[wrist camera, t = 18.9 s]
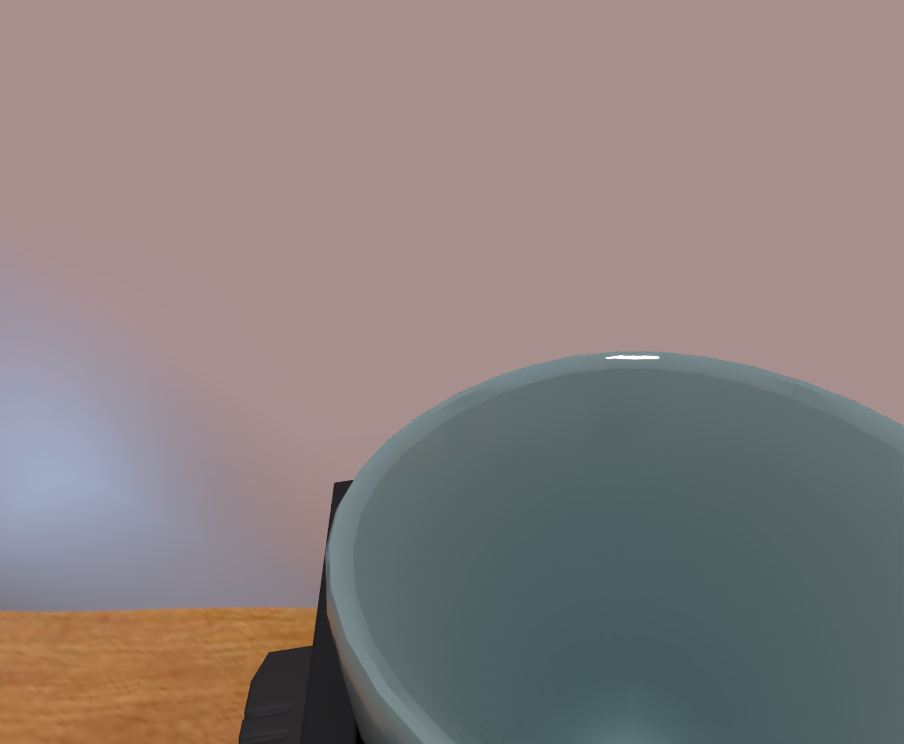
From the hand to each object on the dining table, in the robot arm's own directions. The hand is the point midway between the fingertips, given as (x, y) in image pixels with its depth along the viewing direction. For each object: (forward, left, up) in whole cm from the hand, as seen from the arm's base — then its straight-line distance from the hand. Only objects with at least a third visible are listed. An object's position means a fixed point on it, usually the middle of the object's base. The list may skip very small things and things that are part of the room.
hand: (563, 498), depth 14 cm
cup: (-4, +3, -6) cm, 8 cm away
